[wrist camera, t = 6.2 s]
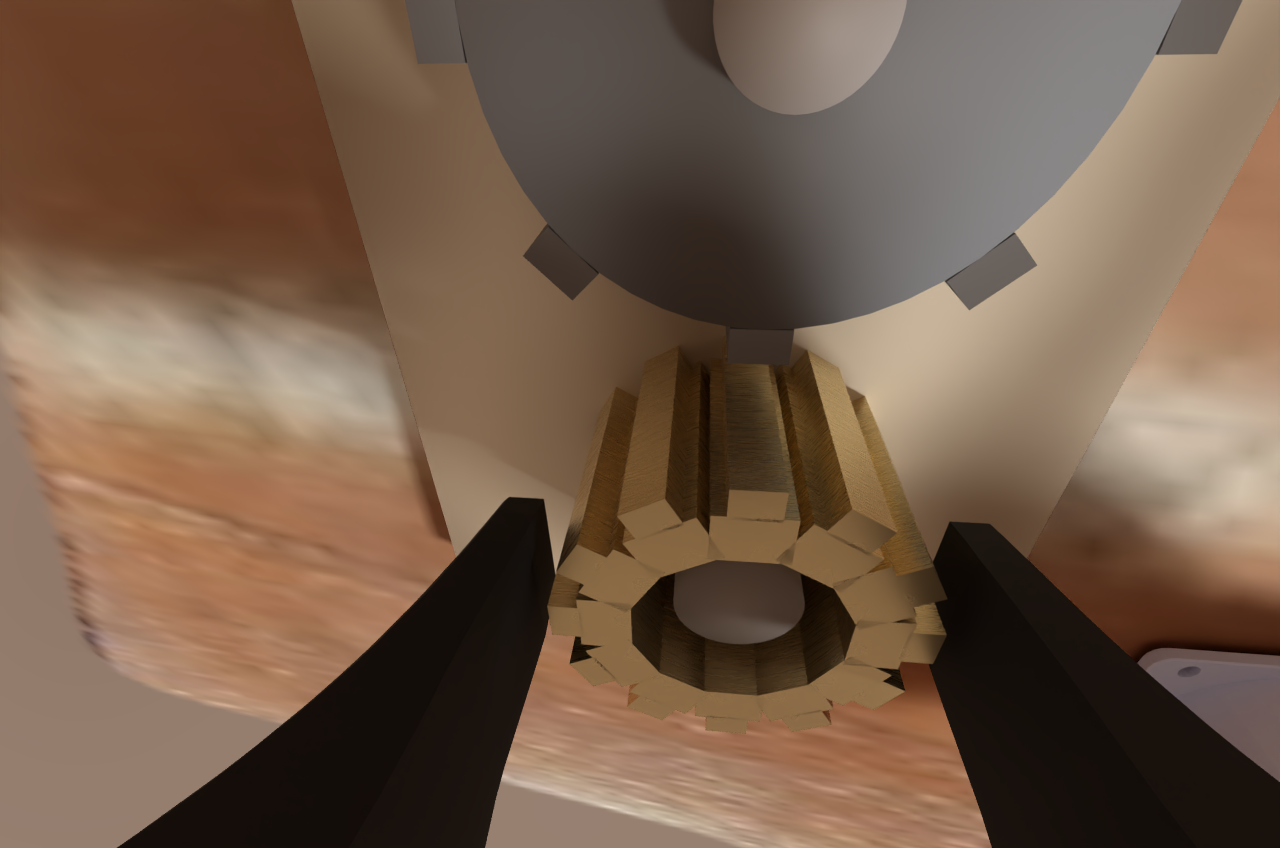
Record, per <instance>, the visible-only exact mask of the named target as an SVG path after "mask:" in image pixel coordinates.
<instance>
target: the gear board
mask: <svg viewBox="0 0 1280 848" xmlns="http://www.w3.org/2000/svg"><path fill="white" fill-rule="evenodd" d="M291 1H292V5H293V8H294V11H295V15H296V18H297V21H298V25H299V28H300V32H301V35H302V38H303V42H304V45H305V48H306V52H307V55H308V59H309V62H310V65H311V69H312V72H313V75H314V79H315V82H316V86H317V89H318V92H319V96H320V99H321V102H322V106H323V109H324V113H325V116H326V119H327V123H328V126H329V130H330V133H331V136H332V140H333V143H334V146H335V150H336V153H337V157H338V160H339V163H340V167H341V170H342V173H343V177H344V180H345V184H346V187H347V190H348V194H349V197H350V200H351V204H352V207H353V211H354V214H355V217H356V221H357V224H358V227H359V231H360V234H361V238H362V241H363V244H364V248H365V251H366V255H367V258H368V261H369V265H370V268H371V271H372V275H373V278H374V282H375V285H376V288H377V292H378V295H379V298H380V302H381V305H382V309H383V312H384V315H385V319H386V322H387V325H388V329H389V332H390V336H391V339H392V342H393V346H394V349H395V352H396V356H397V359H398V363H399V366H400V369H401V373H402V376H403V379H404V383H405V386H406V390H407V393H408V396H409V400H410V403H411V407H412V410H413V413H414V417H415V420H416V423H417V427H418V430H419V434H420V437H421V440H422V444H423V447H424V450H425V454H426V457H427V461H428V464H429V467H430V471H431V474H432V477H433V481H434V484H435V488H436V491H437V494H438V498H439V501H440V504H441V508H442V511H443V515H444V518H445V521H446V525H447V528H448V532H449V535H450V538H451V542H452V545H453V548H454V552H455V555H456V557H457V556H458V555H459V553H460V552H461V551H462V550H463V549H464V548H465V547H466V545H467V544H468V543H469V542H470V541H471V540H472V538H473V537H474V536H475V535H476V534H477V533H478V531H479V530H480V529H481V528H482V527H483V525H484V524H485V523H486V522H487V521H488V519H489V518H490V517H491V516H492V515H493V513H494V512H495V511H496V510H497V509H498V507H499V506H500V505H501V504H502V503H503V501H505V500H506V499H507V498H508V497H521V498H539V499H544V502H545V509H546V515H547V522H548V528H549V535H550V541H551V548H552V554H553V561H554V568H555V574H556V570H557V566H558V563H559V559H560V555H561V552H562V548H563V544H564V541H565V537H566V533H567V530H568V526H569V522H570V519H571V515H572V511H573V508H574V504H575V500H576V496H577V493H578V489H579V485H580V482H581V478H582V474H583V471H584V467H585V463H586V460H587V456H588V452H589V449H590V445H591V441H592V438H593V434H594V430H595V427H596V423H597V419H598V416H599V412H600V410H601V409H602V407H603V406H604V404H605V403H606V401H607V400H608V398H609V396H610V395H611V393H612V392H613V390H614V389H615V387H618V388H620V389H622V390H624V391H626V392H628V393H630V394H632V395H633V396H635V397H637V396H638V394H639V393H640V388H641V383H642V377H643V372H644V366H645V361H647V360H649V359H651V358H653V357H655V356H658V355H660V354H662V353H664V352H666V351H668V350H670V349H672V348H674V347H676V346H680V348H681V349H682V351H683V353H684V354H685V356H686V358H687V359H688V361H689V363H690V364H694V363H696V362H698V361H700V360H701V362H702V363H703V365H704V367H705V368H706V370H707V372H708V373H710V358H714V359H722V347H723V336H726V346H727V363H733V364H763V365H773V367H774V372H775V371H776V370H777V368H778V367H779V366H780V365H786V366H788V367H790V368H792V367H793V365H794V364H795V363H796V362H797V361H798V360H799V358H800V357H801V356H802V355H803V354H804V353H805V351H806V350H809V351H811V352H812V353H814V354H816V355H818V356H819V357H821V358H823V359H824V360H826V361H828V362H830V363H831V364H833V365H835V366H836V367H838V368H839V369H840V372H841V375H842V378H843V381H844V383H845V386H846V389H847V392H848V395H849V398H850V400H851V401H854V400H856V399H859V398H861V397H864V396H865V397H866V399H867V401H868V404H869V406H870V408H871V410H872V413H873V415H874V417H875V419H876V422H877V424H878V426H879V429H880V431H881V434H882V436H883V439H884V441H885V444H886V446H887V449H888V451H889V454H890V456H891V459H892V461H893V464H894V466H895V469H896V471H897V474H898V476H899V479H900V481H901V484H902V486H903V489H904V491H905V494H906V496H907V499H908V501H909V504H910V506H911V509H912V511H913V514H914V516H915V519H916V521H917V524H918V526H919V529H920V532H921V534H922V537H923V539H924V542H925V544H926V547H927V549H928V552H929V554H930V557H931V559H932V562H933V560H934V558H935V556H936V553H937V551H938V548H939V546H940V543H941V541H942V538H943V536H944V534H945V531H946V529H947V526H948V524H949V521H952V522H969V523H987V524H991V525H992V526H993V527H994V528H995V529H996V530H997V531H998V532H999V533H1001V534H1002V535H1003V536H1004V537H1005V538H1006V539H1007V540H1008V541H1009V542H1010V543H1011V544H1012V545H1013V546H1014V547H1015V548H1016V549H1017V550H1018V551H1019V552H1020V553H1021V554H1022V555H1023V556H1024V557H1026V558H1028V556H1029V554H1030V552H1031V550H1032V549H1033V547H1034V545H1035V543H1036V541H1037V539H1038V538H1039V536H1040V534H1041V532H1042V530H1043V529H1044V527H1045V525H1046V523H1047V521H1048V519H1049V518H1050V516H1051V514H1052V512H1053V510H1054V508H1055V507H1056V505H1057V503H1058V501H1059V499H1060V497H1061V496H1062V494H1063V492H1064V490H1065V488H1066V487H1067V485H1068V483H1069V481H1070V479H1071V477H1072V476H1073V474H1074V472H1075V470H1076V468H1077V466H1078V465H1079V463H1080V461H1081V459H1082V457H1083V455H1084V454H1085V452H1086V450H1087V448H1088V446H1089V445H1090V443H1091V441H1092V439H1093V437H1094V435H1095V434H1096V432H1097V430H1098V428H1099V426H1100V424H1101V423H1102V421H1103V419H1104V417H1105V415H1106V413H1107V412H1108V410H1109V408H1110V406H1111V404H1112V403H1113V401H1114V399H1115V397H1116V395H1117V393H1118V392H1119V390H1120V388H1121V386H1122V384H1123V382H1124V381H1125V379H1126V377H1127V375H1128V373H1129V372H1130V370H1131V368H1132V366H1133V364H1134V362H1135V361H1136V359H1137V357H1138V355H1139V353H1140V351H1141V350H1142V348H1143V346H1144V344H1145V342H1146V340H1147V339H1148V337H1149V335H1150V333H1151V331H1152V330H1153V328H1154V326H1155V324H1156V322H1157V320H1158V319H1159V317H1160V315H1161V313H1162V311H1163V309H1164V308H1165V306H1166V304H1167V302H1168V300H1169V298H1170V297H1171V295H1172V293H1173V291H1174V289H1175V288H1176V286H1177V284H1178V282H1179V280H1180V278H1181V277H1182V275H1183V273H1184V271H1185V269H1186V267H1187V266H1188V264H1189V262H1190V260H1191V258H1192V256H1193V255H1194V253H1195V251H1196V249H1197V247H1198V246H1199V244H1200V242H1201V240H1202V238H1203V236H1204V235H1205V233H1206V231H1207V229H1208V227H1209V225H1210V224H1211V222H1212V220H1213V218H1214V216H1215V214H1216V213H1217V211H1218V209H1219V207H1220V205H1221V204H1222V202H1223V200H1224V198H1225V196H1226V194H1227V193H1228V191H1229V189H1230V187H1231V185H1232V183H1233V182H1234V180H1235V178H1236V176H1237V174H1238V172H1239V171H1240V169H1241V167H1242V165H1243V163H1244V162H1245V160H1246V158H1247V156H1248V154H1249V152H1250V151H1251V149H1252V147H1253V145H1254V143H1255V141H1256V140H1257V138H1258V136H1259V134H1260V132H1261V130H1262V129H1263V127H1264V125H1265V123H1266V121H1267V120H1268V118H1269V116H1270V114H1271V112H1272V110H1273V109H1274V107H1275V105H1276V103H1277V101H1278V99H1279V98H1280V0H291ZM673 604H674V609H675V612H676V614H677V616H678V618H679V619H680V620H681V622H682V623H683V624H684V625H685V626H686V627H688V628H689V629H690V630H692V631H693V632H695V633H696V634H698V635H701V636H703V637H705V638H708V639H711V640H714V641H718V642H723V643H730V644H752V643H759V642H764V641H768V640H771V639H774V638H776V637H779V636H781V635H783V634H785V633H786V632H788V631H789V630H791V629H792V628H793V627H794V626H795V625H796V624H797V623H798V622H799V620H800V619H801V617H802V615H803V612H804V607H805V601H804V594H803V588H802V581H801V575H800V572H798V571H796V570H794V569H791V568H789V567H787V566H785V565H783V564H773V563H758V562H742V561H727V560H714V561H711V562H708V563H705V564H702V565H698V566H695V567H692V568H689V569H686V570H682V571H679V572H676V573H675V582H674V598H673Z"/></svg>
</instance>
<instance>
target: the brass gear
mask: <svg viewBox="0 0 1280 848" xmlns="http://www.w3.org/2000/svg"><path fill="white" fill-rule="evenodd" d="M714 560H727V561H742V562H758V563H773V564H783V565H785V566H787V567H789V568H791V569H794V570H796V571H798V572H800V575H801V581H802V588H803V594H804V601H805V607H804V612H803V615H802V617H801V619H800V620H799V622H798V623H797V624H796V625H795V626H794V627H793V628H792V629H791V630H789V631H788V632H786V633H785V634H783V635H781V636H779V637H776V638H774V639H771V640H768V641H764V642H759V643H752V644H730V643H723V642H718V641H714V640H711V639H708V638H705V637H703V636H701V635H698V634H696V633H695V632H693V631H692V630H690V629H689V628H688V627H686V626H685V625H684V624H683V623H682V622H681V620H680V619H679V618H678V616H677V614H676V612H675V609H674V604H673V598H674V582H675V573H676V572H679V571H682V570H686V569H689V568H692V567H695V566H698V565H702V564H705V563H708V562H711V561H714ZM946 599H947V597H946V594H945V592H944V589H943V587H942V584H941V582H940V579H939V577H938V574H937V572H936V569H935V567H934V564H933V562H932V559H931V557H930V554H929V552H928V549H927V547H926V544H925V542H924V539H923V537H922V534H921V532H920V529H919V526H918V524H917V521H916V519H915V516H914V514H913V511H912V509H911V506H910V504H909V501H908V499H907V496H906V494H905V491H904V489H903V486H902V484H901V481H900V479H899V476H898V474H897V471H896V469H895V466H894V464H893V461H892V459H891V456H890V454H889V451H888V449H887V446H886V444H885V441H884V439H883V436H882V434H881V431H880V429H879V426H878V424H877V422H876V419H875V417H874V415H873V413H872V410H871V408H870V406H869V404H868V401H867V399H866V397H865V396H864V397H861V398H859V399H856V400H854V401H851V400H850V398H849V395H848V392H847V389H846V386H845V383H844V381H843V378H842V375H841V372H840V369H839V368H838V367H836V366H835V365H833V364H831V363H830V362H828V361H826V360H824V359H823V358H821V357H819V356H818V355H816V354H814V353H812V352H811V351H809V350H806V351H805V353H804V354H803V355H802V356H801V357H800V358H799V360H798V361H797V362H796V363H795V364H794V365H793V367H792V368H790V367H788V366H786V365H780V366H779V367H778V368H777V370H776V371H775V372H774V367H773V365H763V364H733V363H727V346H726V336H723V347H722V359H714V358H710V373H708V372H707V370H706V368H705V367H704V365H703V363H702V362H701V360H700V361H698V362H696V363H694V364H690V363H689V361H688V359H687V358H686V356H685V354H684V353H683V351H682V349H681V348H680V346H676V347H674V348H672V349H670V350H668V351H666V352H664V353H662V354H660V355H658V356H655V357H653V358H651V359H649V360H647V361H645V366H644V372H643V377H642V383H641V388H640V393H639V394H638V396H637V397H635V396H633V395H632V394H630V393H628V392H626V391H624V390H622V389H620V388H618V387H615V389H614V390H613V392H612V393H611V395H610V396H609V398H608V400H607V401H606V403H605V404H604V406H603V407H602V409H601V410H600V412H599V416H598V419H597V423H596V427H595V430H594V434H593V438H592V441H591V445H590V449H589V452H588V456H587V460H586V463H585V467H584V471H583V474H582V478H581V482H580V485H579V489H578V493H577V496H576V500H575V504H574V508H573V511H572V515H571V519H570V522H569V526H568V530H567V533H566V537H565V541H564V544H563V548H562V552H561V555H560V559H559V563H558V566H557V570H556V576H555V580H554V583H553V587H552V591H551V594H550V598H549V602H548V606H547V607H548V613H549V619H550V625H551V630H552V635H565V636H575V641H574V645H573V650H572V655H571V659H570V665H571V666H572V667H573V668H574V669H575V670H577V671H578V672H579V673H580V674H581V675H582V676H583V677H584V678H585V679H586V680H587V681H588V682H589V683H590V684H591V685H592V686H596V685H600V684H604V683H608V682H612V681H616V682H617V683H618V684H619V685H620V686H621V687H624V686H628V685H630V689H629V697H628V706H627V707H629V708H632V709H634V710H637V711H639V712H642V713H645V714H647V715H650V716H652V717H655V718H657V719H660V720H663V719H664V718H666V717H667V716H668V715H669V714H671V713H672V712H673V711H674V710H677V711H680V712H682V713H685V714H686V713H687V712H688V711H689V710H691V709H692V708H693V707H695V716H701V717H706V730H708V731H720V732H731V733H742V734H746V729H747V723H748V721H757V722H760V718H761V713H762V712H763V713H764V714H765V715H766V716H767V718H768V719H769V720H770V721H774V720H779V719H782V720H783V722H784V723H785V724H786V725H787V726H788V728H789V729H790V730H791V731H792V732H794V731H800V730H805V729H811V728H816V727H822V726H827V725H831V719H830V713H829V710H831V709H833V703H832V701H833V702H836V703H838V704H840V705H845V704H846V703H848V702H850V701H851V700H852V701H854V702H856V703H858V704H861V705H863V706H865V707H868V708H870V709H872V710H874V709H876V708H878V707H879V706H881V705H883V704H885V703H886V702H888V701H890V700H891V699H893V698H895V697H896V696H898V695H900V694H902V693H903V692H905V689H904V685H903V682H902V678H901V675H900V671H899V666H900V663H901V662H914V663H927V664H933V663H934V661H935V659H936V657H937V655H938V653H939V650H940V648H941V646H942V644H943V642H944V640H945V638H946V636H947V635H946V632H945V629H944V627H943V624H942V621H941V619H940V616H939V613H938V611H937V608H936V605H935V603H934V602H938V601H942V600H946Z"/></svg>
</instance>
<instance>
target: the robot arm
mask: <svg viewBox="0 0 1280 848" xmlns="http://www.w3.org/2000/svg"><path fill="white" fill-rule="evenodd" d="M933 564H934V567H935V569H936V572H937V574H938V577H939V579H940V582H941V584H942V587H943V589H944V592H945V594H946V597H947V599H946V600H942V601H938V602H934V603H935V605H936V608H937V611H938V613H939V616H940V619H941V621H942V624H943V627H944V629H945V632H946V635H947V636H946V638H945V640H944V642H943V644H942V646H941V648H940V650H939V653H938V655H937V657H936V659H935V661H934V663H933V664H929V666H930V669H931V672H932V675H933V678H934V681H935V684H936V687H937V690H938V692H939V695H940V698H941V701H942V704H943V707H944V710H945V713H946V716H947V718H948V721H949V724H950V727H951V730H952V732H953V735H954V738H955V741H956V744H957V746H958V749H959V752H960V755H961V758H962V761H963V763H964V766H965V769H966V772H967V775H968V777H969V780H970V783H971V786H972V789H973V792H974V794H975V797H976V800H977V803H978V806H979V808H980V811H981V814H982V817H983V821H984V824H985V827H986V830H987V833H988V837H989V840H990V843H991V846H992V848H1280V656H1275V655H1261V654H1247V653H1233V652H1219V651H1206V650H1192V649H1178V648H1159V649H1155V650H1152V651H1150V652H1147V653H1146V654H1145V655H1144V656H1143V657H1142V658H1141V659H1140V660H1139V661H1138V663H1136V662H1135V661H1134V660H1133V659H1132V658H1131V657H1130V656H1129V655H1127V654H1126V653H1125V652H1124V651H1123V650H1122V649H1121V648H1120V647H1119V646H1118V645H1117V644H1115V643H1114V642H1113V641H1112V640H1111V639H1110V638H1109V637H1108V636H1107V635H1106V634H1105V633H1104V632H1103V631H1101V630H1100V629H1099V628H1098V627H1097V626H1096V625H1095V624H1094V623H1093V622H1092V621H1091V620H1090V619H1089V618H1088V617H1087V616H1086V615H1084V614H1083V613H1082V612H1081V611H1080V610H1079V609H1078V608H1077V607H1076V606H1075V605H1074V604H1073V603H1072V602H1071V601H1070V600H1069V599H1068V598H1067V597H1066V596H1065V595H1064V594H1063V593H1062V592H1060V591H1059V590H1058V589H1057V588H1056V587H1055V586H1054V585H1053V584H1052V583H1051V582H1050V581H1049V580H1048V579H1047V578H1046V577H1045V576H1044V575H1043V574H1042V573H1041V572H1040V571H1039V570H1038V569H1037V568H1036V567H1035V566H1034V565H1033V564H1032V563H1031V562H1030V561H1029V560H1028V559H1027V558H1026V557H1024V556H1023V555H1022V554H1021V553H1020V552H1019V551H1018V550H1017V549H1016V548H1015V547H1014V546H1013V545H1012V544H1011V543H1010V542H1009V541H1008V540H1007V539H1006V538H1005V537H1004V536H1003V535H1002V534H1001V533H999V532H998V531H997V530H996V529H995V528H994V527H993V526H992V525H991V524H987V523H969V522H952V521H949V524H948V526H947V529H946V531H945V534H944V536H943V538H942V541H941V543H940V546H939V548H938V551H937V553H936V556H935V558H934V560H933ZM555 576H556V574H555V568H554V561H553V554H552V548H551V541H550V535H549V528H548V522H547V515H546V509H545V502H544V499H539V498H521V497H508V498H507V499H506V500H505V501H503V503H502V504H501V505H500V506H499V507H498V509H497V510H496V511H495V512H494V513H493V515H492V516H491V517H490V518H489V519H488V521H487V522H486V523H485V524H484V525H483V527H482V528H481V529H480V530H479V531H478V533H477V534H476V535H475V536H474V537H473V538H472V540H471V541H470V542H469V543H468V544H467V545H466V547H465V548H464V549H463V550H462V551H461V552H460V553H459V555H458V556H457V557H456V558H455V559H454V560H453V561H452V563H451V564H450V565H449V566H448V567H447V568H446V569H445V570H444V571H443V572H442V574H441V575H440V576H439V577H438V578H437V579H436V580H435V581H434V582H433V583H432V585H431V586H430V587H429V588H428V589H427V590H426V591H425V592H424V593H423V594H422V595H421V597H420V598H419V599H418V600H417V601H416V602H415V603H414V604H413V605H412V606H411V607H410V608H409V609H408V610H407V611H406V612H405V613H404V614H403V615H402V616H401V617H400V618H399V619H398V620H397V621H396V622H395V623H394V624H393V625H392V626H391V627H390V628H389V629H388V630H387V631H386V632H385V633H384V634H383V635H382V636H381V637H380V638H379V639H378V640H377V641H376V642H375V643H374V644H373V645H372V646H371V647H370V648H369V649H368V650H367V651H366V652H365V653H364V654H362V655H361V656H360V657H359V658H358V659H357V660H356V661H355V662H354V663H353V664H352V665H351V666H350V667H348V668H347V669H346V670H345V671H344V672H343V673H342V674H341V675H340V676H339V677H337V678H336V679H335V680H334V681H333V682H332V683H331V684H329V685H328V686H327V687H326V688H325V689H324V690H323V691H322V692H320V693H319V694H318V695H317V696H316V697H315V698H314V699H312V700H311V701H310V702H309V703H308V704H307V705H305V706H304V707H303V708H302V709H301V710H299V711H298V712H297V713H296V714H294V715H293V716H292V717H291V718H290V719H288V720H287V721H286V722H285V723H283V724H282V725H281V726H280V727H279V728H277V729H276V730H275V731H274V732H272V733H271V734H270V735H269V736H268V737H266V738H265V739H264V740H263V741H261V742H260V743H259V744H258V745H257V746H255V747H254V748H253V749H251V750H250V751H249V752H248V753H246V754H245V755H244V756H242V757H241V758H240V759H239V760H237V761H236V762H235V763H233V764H232V765H231V766H229V767H228V768H227V769H226V770H224V771H223V772H222V773H220V774H219V775H218V776H216V777H215V778H214V779H212V780H211V781H209V782H208V783H207V784H205V785H204V786H202V787H201V788H200V789H199V790H197V791H196V792H194V793H193V794H191V795H190V796H189V797H187V798H186V799H185V800H183V801H182V802H180V803H179V804H178V805H176V806H175V807H173V808H172V809H171V810H169V811H168V812H167V813H165V814H164V815H162V816H161V817H160V818H158V819H157V820H156V821H154V822H153V823H151V824H150V825H149V826H147V827H146V828H144V829H143V830H142V831H140V832H139V833H138V834H136V835H135V836H133V837H132V838H130V839H129V840H127V841H126V842H125V843H123V844H122V845H120V846H119V847H117V848H485V845H486V841H487V836H488V832H489V827H490V822H491V818H492V813H493V809H494V804H495V800H496V796H497V792H498V789H499V785H500V781H501V778H502V774H503V770H504V767H505V764H506V760H507V757H508V754H509V751H510V748H511V744H512V741H513V738H514V735H515V732H516V728H517V725H518V722H519V719H520V716H521V713H522V709H523V706H524V703H525V700H526V697H527V693H528V690H529V687H530V684H531V681H532V678H533V674H534V671H535V668H536V665H537V661H538V658H539V655H540V652H541V648H542V645H543V642H544V638H545V635H546V630H547V625H548V620H549V613H548V607H547V606H548V602H549V598H550V594H551V591H552V587H553V583H554V580H555Z"/></svg>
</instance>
